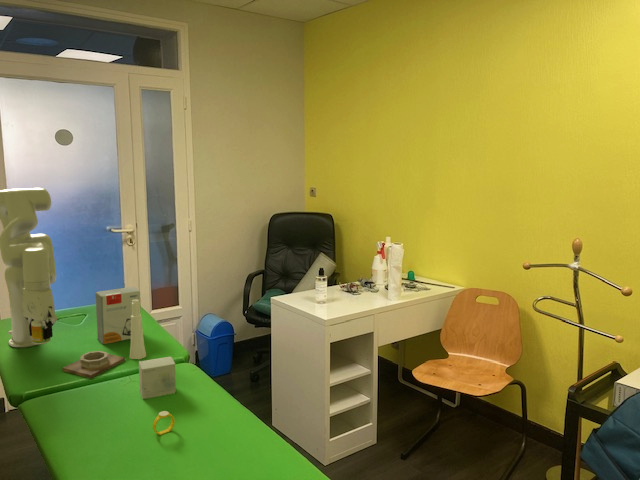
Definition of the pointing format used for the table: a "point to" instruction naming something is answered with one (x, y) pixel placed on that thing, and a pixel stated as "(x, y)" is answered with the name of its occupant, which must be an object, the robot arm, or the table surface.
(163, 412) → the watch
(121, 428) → the table surface
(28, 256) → the robot arm
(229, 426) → the table surface
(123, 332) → the hard drive box
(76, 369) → the walnut board
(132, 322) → the cosmetic bottle
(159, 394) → the skincare box
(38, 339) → the supplement bottle
